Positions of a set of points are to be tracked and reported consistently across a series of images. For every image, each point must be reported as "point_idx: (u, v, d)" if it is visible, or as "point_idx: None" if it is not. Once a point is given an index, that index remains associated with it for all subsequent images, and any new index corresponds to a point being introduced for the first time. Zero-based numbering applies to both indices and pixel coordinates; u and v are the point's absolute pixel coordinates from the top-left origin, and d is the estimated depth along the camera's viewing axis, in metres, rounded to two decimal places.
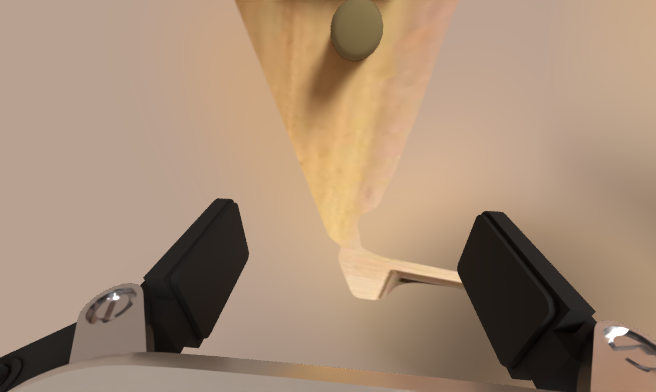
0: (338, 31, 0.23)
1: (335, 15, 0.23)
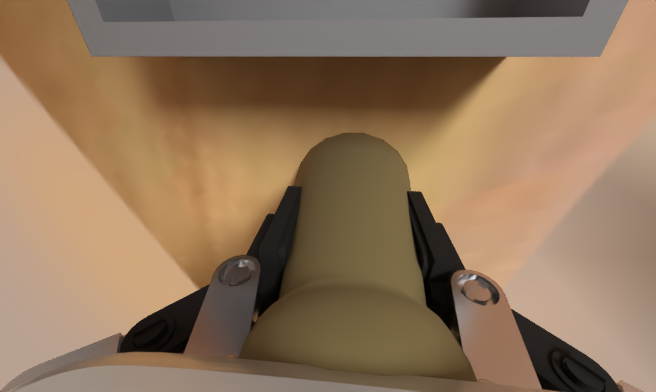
0: None
1: None
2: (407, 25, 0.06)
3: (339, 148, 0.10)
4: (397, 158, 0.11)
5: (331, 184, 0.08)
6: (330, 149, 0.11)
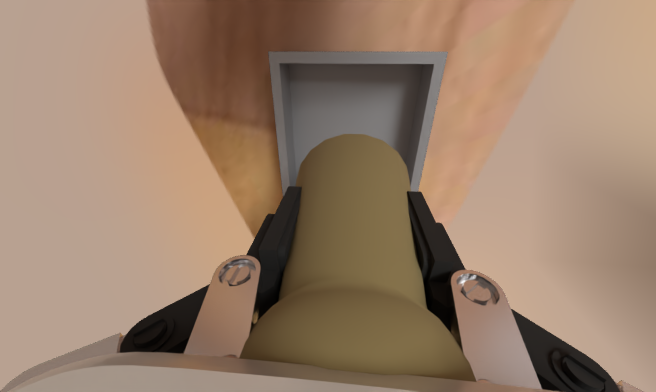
0: None
1: None
2: None
3: (339, 149, 0.10)
4: (397, 159, 0.11)
5: (331, 185, 0.08)
6: (330, 150, 0.11)
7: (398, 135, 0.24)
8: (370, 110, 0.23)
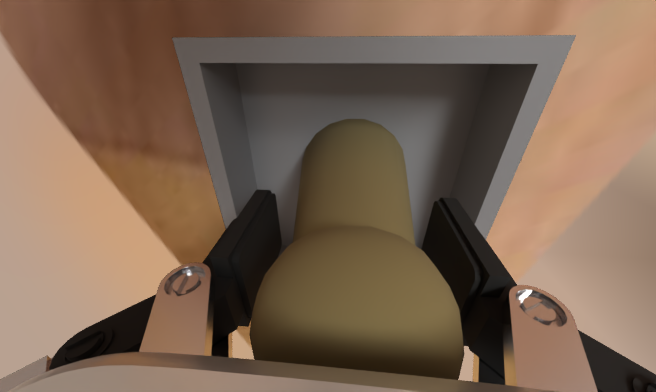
0: None
1: (258, 320, 0.05)
2: None
3: (342, 131, 0.12)
4: (394, 141, 0.12)
5: (335, 159, 0.10)
6: (334, 132, 0.12)
7: (432, 183, 0.14)
8: None
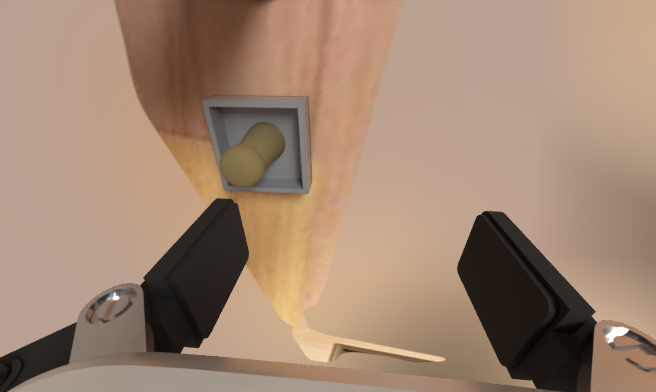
0: (223, 172, 0.28)
1: (220, 159, 0.28)
2: (277, 188, 0.38)
3: (256, 126, 0.35)
4: (275, 129, 0.35)
5: (248, 134, 0.33)
6: (253, 126, 0.35)
7: (296, 146, 0.37)
8: None
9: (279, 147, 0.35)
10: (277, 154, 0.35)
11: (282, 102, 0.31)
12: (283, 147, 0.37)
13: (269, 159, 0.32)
